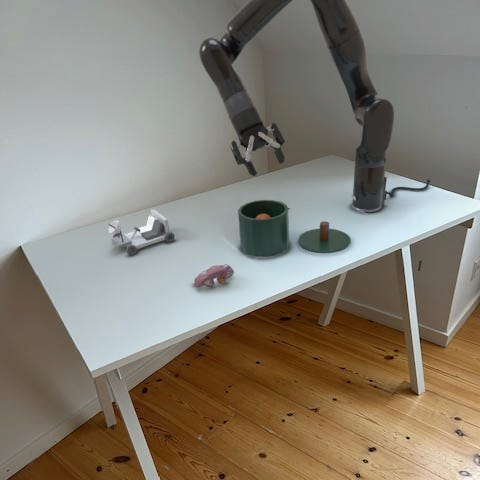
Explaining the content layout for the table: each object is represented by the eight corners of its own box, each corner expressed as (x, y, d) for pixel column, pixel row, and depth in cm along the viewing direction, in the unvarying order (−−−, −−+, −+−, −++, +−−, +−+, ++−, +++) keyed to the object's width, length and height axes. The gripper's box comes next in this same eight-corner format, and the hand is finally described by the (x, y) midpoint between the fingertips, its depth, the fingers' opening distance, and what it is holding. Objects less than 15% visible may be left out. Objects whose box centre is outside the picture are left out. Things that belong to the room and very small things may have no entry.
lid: (328, 227, 147) (329, 208, 144) (360, 245, 136) (362, 225, 133) (288, 240, 142) (288, 221, 138) (318, 260, 131) (319, 239, 128)
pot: (272, 232, 147) (270, 196, 140) (297, 249, 137) (297, 211, 130) (232, 244, 142) (229, 207, 136) (256, 263, 132) (254, 224, 126)
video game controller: (199, 296, 124) (201, 280, 118) (192, 282, 125) (194, 266, 119) (234, 285, 127) (237, 269, 121) (226, 271, 129) (229, 255, 123)
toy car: (112, 228, 134) (97, 215, 142) (119, 259, 140) (105, 245, 148) (170, 210, 142) (153, 198, 150) (175, 240, 147) (158, 228, 155)
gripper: (221, 118, 126) (249, 175, 128) (269, 97, 128) (295, 154, 130) (217, 128, 133) (243, 183, 135) (262, 109, 136) (286, 162, 138)
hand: (268, 169), depth 133 cm, fingers open, 8 cm apart
